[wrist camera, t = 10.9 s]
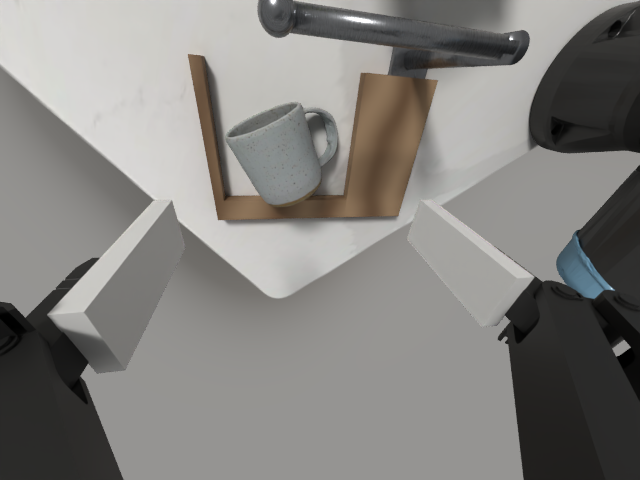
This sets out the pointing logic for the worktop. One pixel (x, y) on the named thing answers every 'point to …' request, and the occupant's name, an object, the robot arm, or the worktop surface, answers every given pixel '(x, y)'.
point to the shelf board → (364, 158)
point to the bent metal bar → (396, 36)
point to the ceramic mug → (282, 152)
